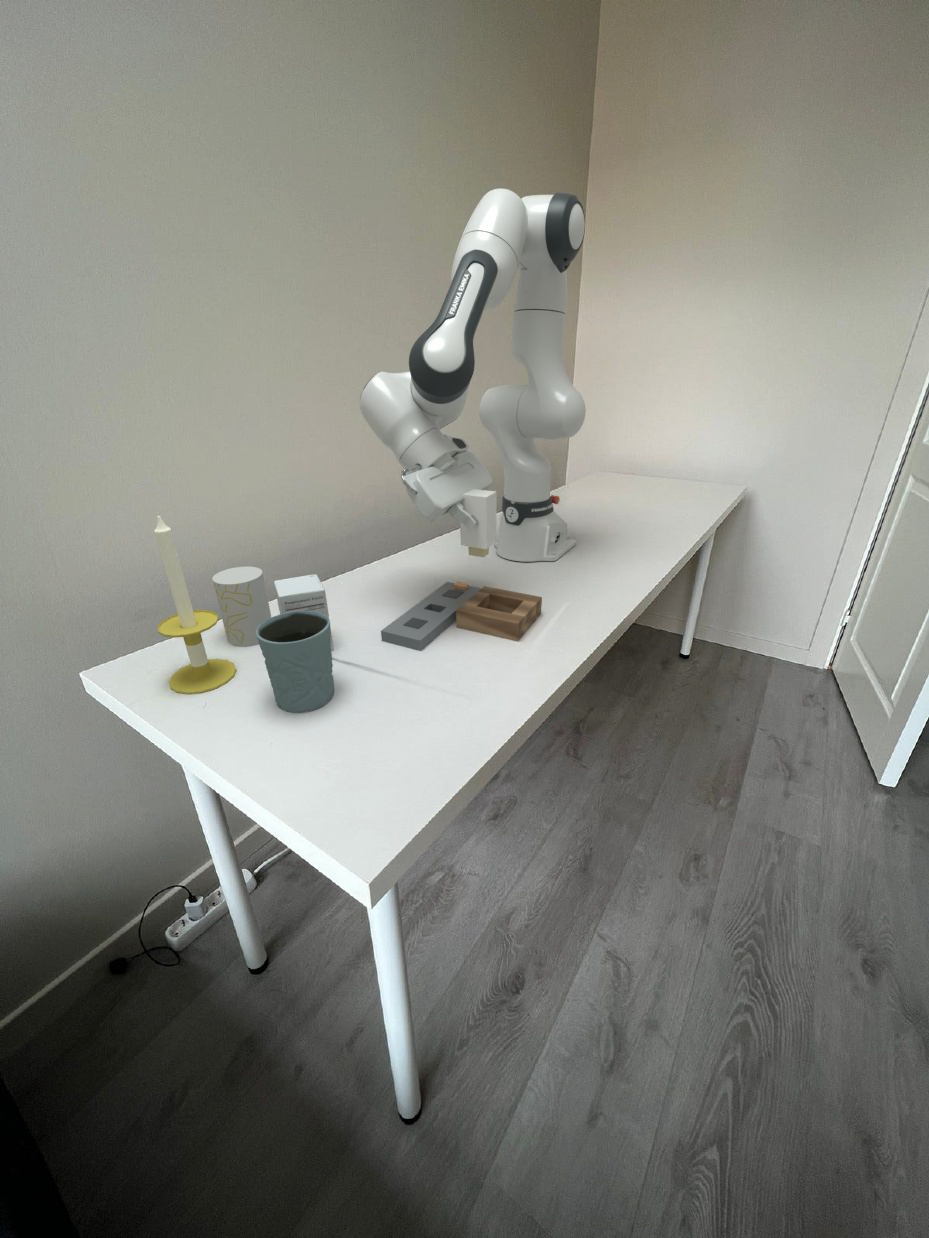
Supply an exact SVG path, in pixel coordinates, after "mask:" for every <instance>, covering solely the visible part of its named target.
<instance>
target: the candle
mask: <svg viewBox="0 0 929 1238" xmlns="http://www.w3.org/2000/svg"><path fill="white" fill-rule="evenodd" d="M156 513H157V516H156V527H155V529H154V535H155V539H156V543H157V546H158V549H159V553H160V556H161V560H162V563H163V566H164V570H165V573H166V577H167V580H168V584H169V588H170V591H171V594H172V598H173V602H174V604H175V609H176V613H177V614H174V615H171V616H168V617H167V618H164V619H163V620H162V621H160V623H159V624H158V626H157V628H156V629H157V631H158V634H160V635H161V636H163V637H166V638H174V639H175V638H183V640H184V641H183V642H184V645H185V648H186V652H187V655H188V659H189V662H190V664H187V665H185V666H183V667H181V668H179V669H178V670H176V672H174V673H173V674H172V675H171V677H170V678H169V680H168V684H169V685H168V686H169V688H170V690H171V691H173V692H175V693H177V694H183V695H195V694H197V695H198V694H202V693H203V694H204V693H206V692H210V691H213V690H214V691H215V690H216V689H219V688H220V687H222V686H225V684H227V683H228V682H230V681H231V680H232V679H234V677H235V675H236V672H237V667H236V666H235V663H234V662H232V661H230V660H228V659H222V658H209V659H208V656H207V652H206V648H205V645H204V644H205V643H204V640H203V637H202V633H205V632H206V631H209V630H211V628H213V627H215V626H216V625H217V623H218V621H219V615H218V614H217V613H216V612H214V611H213V610H205V609H196V610H194V609H193V606H192V602H191V598H190V595H189V591H188V587H187V584H186V579H185V575H184V573H183V569H182V565H181V562H180V561H181V560H180V557H179V554H178V550H177V546H176V543H175V539H174V535H173V532H172V528H171V527H170V526H168V525H167V524H166V523H165V522H164V520H163V519H162V517H161V515H160V514H159V512H156Z"/></svg>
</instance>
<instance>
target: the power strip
mask: <svg viewBox="0 0 929 1238" xmlns="http://www.w3.org/2000/svg"><path fill="white" fill-rule="evenodd" d="M482 588H483V587H476V586H471V585H470V584H469V583H465V582H461V581H456V582H449V581H446V582H445V583H443V584H442V585H440V586H439V587H437V589H435V590H434V591H433V592H431V593H430V594H429V595H427V596H426V597H424V598H423V599H422V600H420V601H419V602H418V603H416V604H415V605H413V606H412V607H411V608H409V609H408V610H406V612H404V613H403V614H402V615H400V616H399V617H397V618H396V619H395V620H393V621H392V622H391V623H389V624H388V625H386V626H385V627H384V628H383V629H381V630H380V635H381V636H380V638H381V642H384V643H387V644H392V645H396V646H400V647H403V648H408V649H412V650H415V651H419V652H421V651H423V650H424V649H425V648H426V647H427V646H429V645H430V644H431V643H432V642H433V641H434V640H435V639H437V637H438V636H440V635H441V634H442V633H443V632H445V630H446V629H448V628H449V627H450V626H451V625H452V624H453V623H456V610H457V609H458V608H459V607H461V606H462V605H463V604H464V603H465V602H466V601H468V600H469V599H470V598H471V597H472V596H473V595H475V594H476V593H477V592H478V591H479V590H481V589H482Z"/></svg>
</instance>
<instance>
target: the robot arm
mask: <svg viewBox="0 0 929 1238" xmlns="http://www.w3.org/2000/svg"><path fill="white" fill-rule="evenodd" d="M585 216H586V215H585V209H584V207H583V204H582V203H581V201H580V199H579V198H578V197H577V195H575V194H572V193H567V192H556V193H554V194H533V195H526V196H523V197H522V198H521V197H520V196H519V195H518V194H517V193H515V192H514V191H512V190H510V189H508V188H494V189H491V190H489V191H487V193H485V194H484V195H483V196H482V198H481V199H480V201H479V202H478V203H477V205H476V207H475V209H474V210H473V212H472V213H471V215H470V218H469V219H468V222H467V224H466V226H465V228H464V230H463V233H462V235H461V237H460V240H459V242H458V245H457V249H456V251H455V254H454V258H453V262H452V267H451V274H450V281H449V282H450V283H449V284H450V286H449V288H448V290H447V293H446V295H445V298H444V301H443V303H442V305H441V307H440V310H439V312H438V314H437V316H436V318H435V319H434V320H433V322H432V323H431V325H430V326H429V327H428V328H427V329H426V330H425V331H424V332H422V334H421V335H420V336H418V338H417V339H416V340H415V342H414V344H413V345H412V346H411V349H410V352H409V356H408V367H409V368H408V369H409V371H404V372H386V371H380V372H377V373H375V375H373V376H372V377H370V379H369V380H368V381H367V383H366V384H365V385H364V387H363V389H362V392H361V394H360V397H359V410H360V412H361V414H362V416H363V419H364V420H365V422H366V424H368V426H369V427H370V429H371V430H372V432H374V434H375V435H376V437H378V438H377V439H379V441H381V443H382V444H383V445H384V446H385V447H386V448H388V449H390V450H391V451H392V452H393V454H394V456H395V457H396V460H397V462H398V463H399V464H400V465H401V468H403V469H402V470H401V475H400V480H401V483H402V484H403V485H404V487H405V491H406V493H407V495H408V497H409V498H410V499H411V501H412V503H413V504H414V506H415V507H416V509H417V511H419V512H420V515H422V517H424V518H425V519H427V520H428V521H429V522H434V521H435V520H437V519H439V518H441V517H442V516H445V515H446V514H449V515H450V516H451V517H452V519H454V520H456V521H458V522H459V523H460V522H461V523H463V524H464V525H465V526H466V527H467V529H468V530H471V529H473V528H474V527H475V526H476V525H478V523H479V521H478V520H477V519H476V517H475V516H474V515H470V514H469V513H467V512H466V511H465V510H463V508H464V507H463V506H462V505H461V503H460V501H462V500H464V496H463V494H465V493H467V492H469V491H471V490H473V489H478V490H487V491H488V489H489V488H491V487H492V485H493V479H492V475H491V474H490V472H488V470H487V469H486V467H485V466H484V465H483V463H482V462H481V461H480V460H479V459H478V457H476V455H475V454H474V453H473V452H471V451H468V450H469V448H470V446H469V444H468V442H466V440H465V439H463V438H459V437H453V436H450V435H448V434H443V432H441V429H442V428H444V427H446V426H448V425H449V424H451V423H453V422H454V421H456V420H457V419H458V418H459V417H460V416H461V414H462V412H463V410H464V409H465V405H466V401H467V396H468V391H469V387H470V383H471V380H472V378H473V376H474V372H475V362H476V361H475V360H476V359H475V351H474V350H475V349H474V340H475V339H474V338H475V335H476V332H477V329H478V327H479V325H480V321H481V319H482V317H483V314H484V312H485V310H486V311H487V310H491V309H494V308H496V307H498V306H499V305H501V304H502V302H503V301H504V299H505V297H506V295H507V293H508V292H509V290H510V288H511V287H512V284H513V282H514V279H515V276H516V274H517V272H518V270H519V271H520V272H519V276H518V280H517V285H516V290H515V298H514V304H513V305H514V306H513V313H512V315H513V317H512V326H511V327H512V329H511V330H512V331H511V341H510V351H511V355H512V357H514V359H515V360H516V362H517V363H519V364H521V365H522V366H523V367H524V368H525V370H526V373H527V376H528V384H502V385H499V386H498V385H497V386H495V387H491V388H489V389H487V390H486V391H485V392H484V394H483V395H482V397H481V399H480V403H479V410H478V411H479V418H480V421H481V424H482V425H483V427H484V428H485V429H486V430H487V431H488V432H489V433H490V435H491V436H492V437H493V440H494V441H495V443H496V445H497V447H498V449H499V452H500V455H501V460H502V463H503V480H504V481H503V483H504V485H503V496H502V497H501V498H502V499H501V500H502V501H501V512H502V514H501V515H500V516H499V523H498V532H497V539H496V543H494V546H495V548H496V551H495V552H496V555H498V556H499V557H500V558H503V559H506V560H509V561H514V562H515V561H516V562H524V563H525V562H526V563H527V562H541V561H543V562H555V561H557V560H559V559H560V558H561V557H562V556H564V555H565V554H566V553H567V552H569V551H570V550H571V549H572V548H573V547H574V546H576V545H577V543H576V540H575V539H573V538H572V537H570V536H568V524H567V521H565V520H564V519H563V518H562V517H561V516H560V515H559V514H557V513H556V512H555V511H554V504H555V505H559V503H560V499H561V498H560V496H559V495H553V494H552V495H551V484H552V466H551V465H552V464H551V462H550V460H549V459H548V458H547V457H546V456H545V455H543V453H541V452H540V451H539V450H538V448H537V445H536V444H535V440H534V439H542V440H545V439H546V440H562V439H567V438H572V437H575V435H577V433H579V432H580V430H581V428H582V426H583V425H584V422H585V419H586V414H587V413H586V409H587V408H586V404H585V400H584V398H583V395H582V394H581V393H580V392H579V391H578V390H577V389H576V388H575V386H574V385H573V384H572V382H571V380H570V378H569V376H568V373H567V371H566V367H565V362H564V361H565V360H564V341H565V340H564V339H565V327H566V325H565V324H566V317H567V316H566V314H567V307H568V305H567V304H568V272H567V270H568V269H569V267H570V265H571V263H572V261H574V259H575V258H576V257H577V255H578V254H579V251H580V250H581V248H582V245H583V242H584V237H585V232H586V219H585V218H586V217H585Z"/></svg>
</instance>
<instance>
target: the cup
mask: <svg viewBox="0 0 929 1238" xmlns="http://www.w3.org/2000/svg"><path fill="white" fill-rule="evenodd" d="M211 579H212V583H213V588H214V592H215V595H216V599H217V602H218V603H217V605H218V607H219V608H218V609H219V612H220V614H221V619H222V620H221V621H222V624H223V627H224V632H225V636H226V640H227V642H228V644H229V645H231V646H234V647H239V648H240V647H241V648H243V647H244V648H245V647H252V646H258V645H259V642H258V639H257V636H256V630H257V628H258V626H259V625H260V624H262V623H263V622H264V621H266V620H268V619H270V618H272V614H271V608H270V603H269V598H268V594H267V589H266V584H265V583H266V582H265V577H264V573H263V570H262V569H261V568H259V567H255V566H236V567H231V568H226V569H224V570H221V571H219V572H217V573H216V574H214V575H213V577H212V578H211Z"/></svg>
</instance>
